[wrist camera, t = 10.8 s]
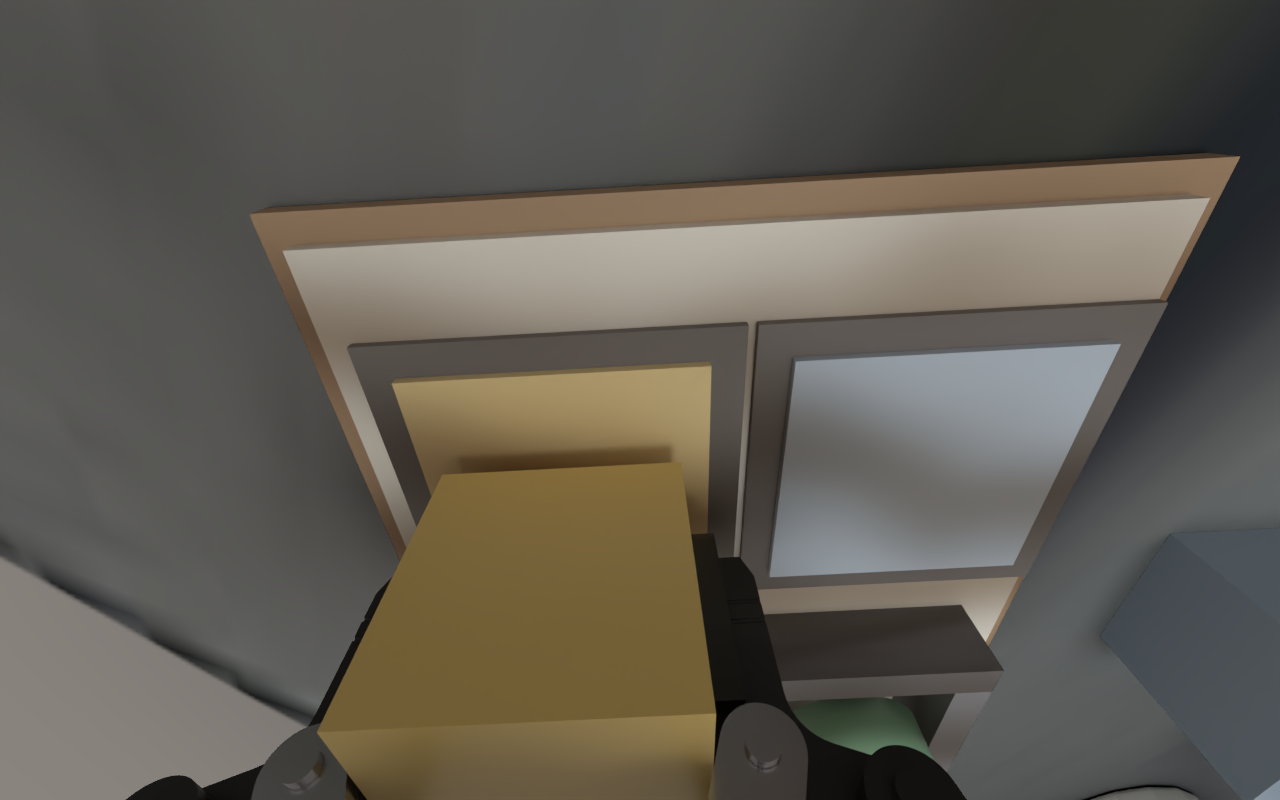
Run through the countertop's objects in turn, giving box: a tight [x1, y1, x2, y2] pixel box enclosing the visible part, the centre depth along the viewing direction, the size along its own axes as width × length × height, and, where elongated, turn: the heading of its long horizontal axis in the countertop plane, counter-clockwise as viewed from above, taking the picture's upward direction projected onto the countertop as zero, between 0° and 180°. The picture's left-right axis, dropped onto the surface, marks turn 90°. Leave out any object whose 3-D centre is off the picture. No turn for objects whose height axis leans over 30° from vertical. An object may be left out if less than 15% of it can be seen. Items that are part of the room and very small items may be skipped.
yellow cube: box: [317, 462, 716, 800], centre depth 10 cm, size 5×5×5 cm
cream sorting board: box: [249, 153, 1240, 772], centre depth 14 cm, size 20×18×3 cm
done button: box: [793, 697, 934, 760], centre depth 15 cm, size 4×4×2 cm
